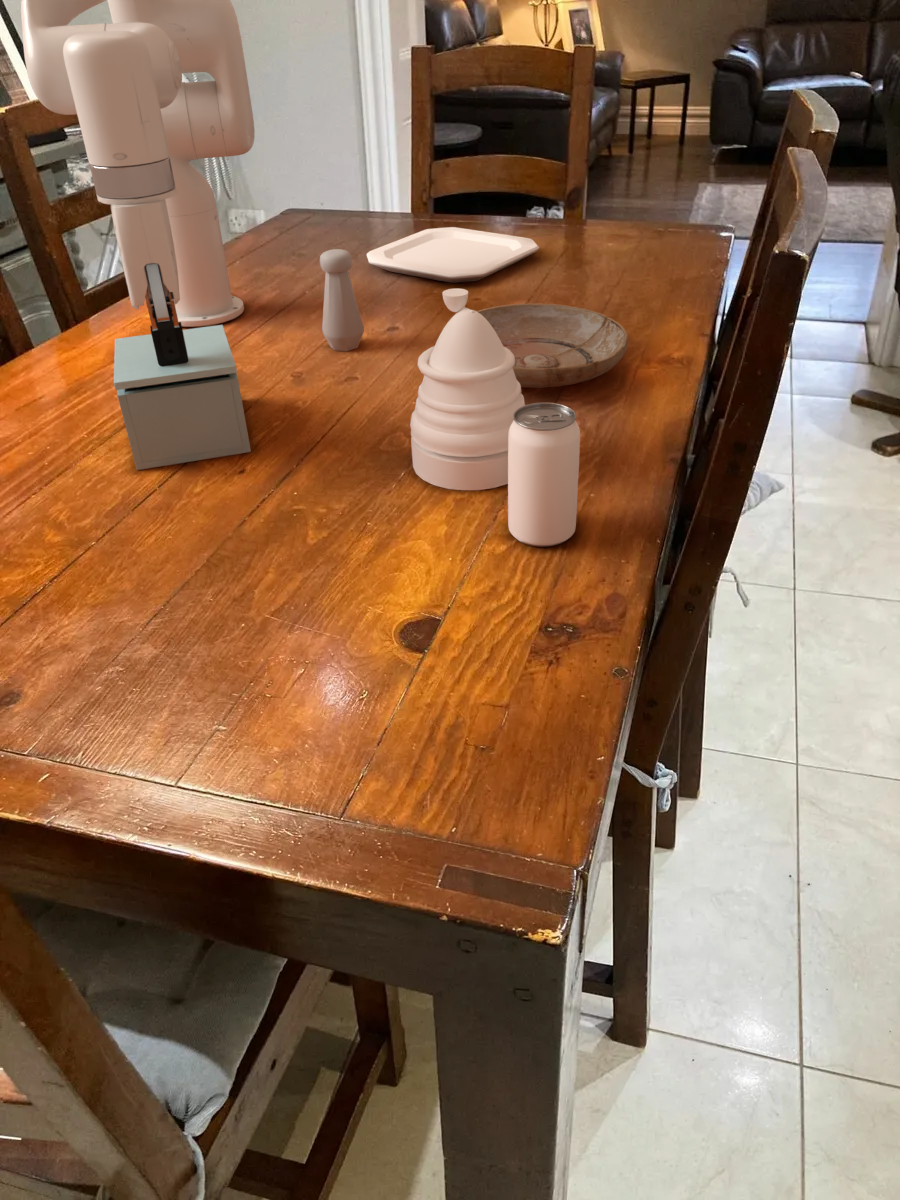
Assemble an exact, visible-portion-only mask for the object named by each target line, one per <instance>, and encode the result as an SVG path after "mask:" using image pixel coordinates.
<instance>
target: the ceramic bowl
mask: <svg viewBox="0 0 900 1200" xmlns="http://www.w3.org/2000/svg"><path fill="white" fill-rule="evenodd" d="M475 311H476V312H478V313H480V314H481V315H482V316H483V317H484V318H485V319H486V320H487V321H488V322H489V323H490V325H491V326H492V327H493V329H494V330H495V332H496V334H497V335H498V337H499V339H500V341H501V343H502V345H503V346H504V347H505V348H507V349H509V350H510V351H511V352H512V353H513V355H514V357H515V364H514V366H513V371H514V374H515V376H516V379H517V381H518V382H519V383H520V385H521V388H532V389H543V388H544V389H545V388H554V387H555V388H556V387H564V386H572V385H576V384H580V383H585V382H587V381H591V380H593V379H595V378H597V377H599V376H602V375H603V374H605V373H608V371H610V370H611V369H613V368H614V367H615V366H616V365H617V364H618V363H619V362H620V361H621V360H622V359H623V357H624V356H625V354H626V352H627V349H628V347H629V334H628V331H627V330H626V329H625V327H624V326H623V325H622V324H620V323H619V322H618V321H616V320H614V319H613V318H612V317H611V318H610V316H607V315H605V314H603V313H600V312H597V311H594V310H591V309H588V308H582V307H578V306H572V305H564V304H554V303H514V304H513V303H512V304H503V305H497V306H492V307H487V308H486V307H485V308H483V309H480V310H475Z"/></svg>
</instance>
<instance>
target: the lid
mask: <svg viewBox="0 0 900 1200" xmlns="http://www.w3.org/2000/svg"><path fill="white" fill-rule="evenodd" d="M182 330H183V335H184V340H185V344H186V349H187V354H188V362H187V363H183V364H176V365H169V366H160V365H159V364H158V361H157V356H156V352H155V347H154V343H153V339H152V334H151V333H149V334H141V335H133V336H126V337H120V338H119V337H118V338H115V339H114V359H113V360H114V361H113V387H114V389H115V391H118V390H120V389H127V388H134V387H141V386H148V385H155V384H162V383H169V382H176V381H183V380H190V379H197V378H204V377H211V376H218V375H225V374H232V373H236V374H237V373H238V370H237V368H238V367H237V366H236V362H235V359H234V355H233V352H232V349H231V346H230V343H229V340H228V336H227V334H226V330H225V327H224V325H223V324H216V325H209V326H201V327H193V328H187V329H182Z"/></svg>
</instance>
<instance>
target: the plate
mask: <svg viewBox="0 0 900 1200" xmlns="http://www.w3.org/2000/svg"><path fill="white" fill-rule="evenodd" d="M539 250H540V246H539V245H538V243H536V242H535V241H534V239H532V238H530V237H525V236H524V237H523V236H517V235H510V234H503V233H496V232H489V231H483V230H476V229H470V228H462V227H456V226H449V227H447V226H446V227H437V228H435V227H434V228H427V229H423V230H420V231H418V232H416V233H412V234H411V235H408V236H405V237H402V238H400V239H398V240H395V241H392V242H390V243H387V244H384V245H382V246H379V247H377V248H374V249H372V250H370V251H368V252H367V253H366V258H367V261H368V264H369V265H372V266H374V267H377V268H380V269H383V270H385V271H388V272H391V273H397V274H401V275H407V276H413V277H417V278H423V279H429V280H435V281H439V282H445V283H450V284H452V283H453V284H455V283H468V282H477V281H480V280H482V279H485V278H487V277H488V276H490V275H493V274H494V273H497V272H498V271H501V270H503V269H505V268H507V267H509V266H511V265H514V264H516V263H518V262H520V261H522V260H523V259H525V258H527V257H529V256H530V255H533V254H534V253H536V252H538V251H539Z"/></svg>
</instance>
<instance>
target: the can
mask: <svg viewBox="0 0 900 1200" xmlns="http://www.w3.org/2000/svg"><path fill="white" fill-rule="evenodd" d="M513 419H514V420H513V422H512V424H511V426H510V429H509V435H508V484H507V518H508V519H507V526H508V530H509V533H510V535H512V536H513V537H514V539H515V540H517V541H518V542H520V543H521V544H524V545H527V546H530V547H538V548H539V547H540V548H546V547H554V546H559V545H562V544H564V543H565V542H566V541H569V540H570V538H572V536H573V535H574V534H575V532H576V527H577V526H576V525H577V511H578V496H579V495H578V492H579V475H580V474H579V473H580V472H579V471H580V470H579V469H580V451H581V429H580V426H579V425H578V422H577V421H576V420H577V413H576V411H575V410H573V409H572V408H571V407H569V406H567V405H565V404H561V403H555V402H533V403H528V404H525V406H522V407H520V408H519V409H517V410H516V411H515V412H514V414H513Z"/></svg>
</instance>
